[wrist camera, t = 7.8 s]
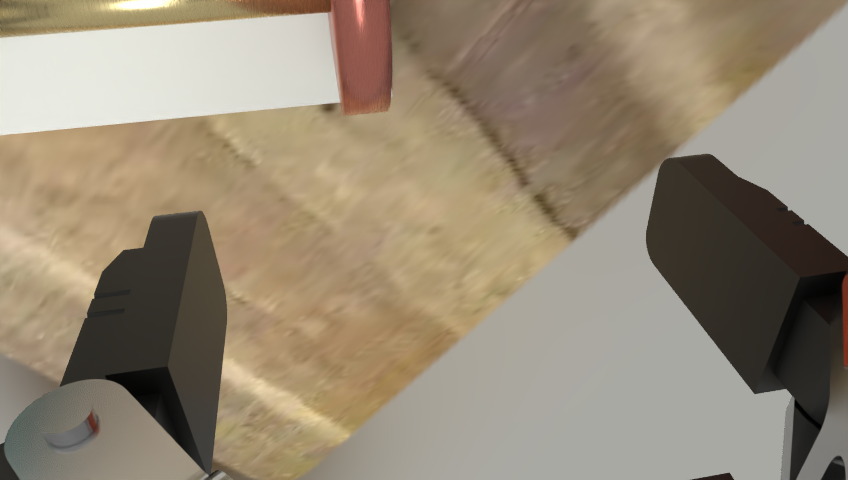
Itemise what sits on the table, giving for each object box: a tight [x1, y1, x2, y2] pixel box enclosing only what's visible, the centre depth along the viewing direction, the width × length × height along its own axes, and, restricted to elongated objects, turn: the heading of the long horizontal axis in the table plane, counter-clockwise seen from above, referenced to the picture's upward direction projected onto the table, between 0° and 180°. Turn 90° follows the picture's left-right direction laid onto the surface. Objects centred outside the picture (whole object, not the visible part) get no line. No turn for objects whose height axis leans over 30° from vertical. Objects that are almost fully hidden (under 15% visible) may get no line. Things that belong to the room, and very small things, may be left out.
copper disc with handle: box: [0, 0, 392, 116], centre depth 25 cm, size 18×10×10 cm, turn 92°
